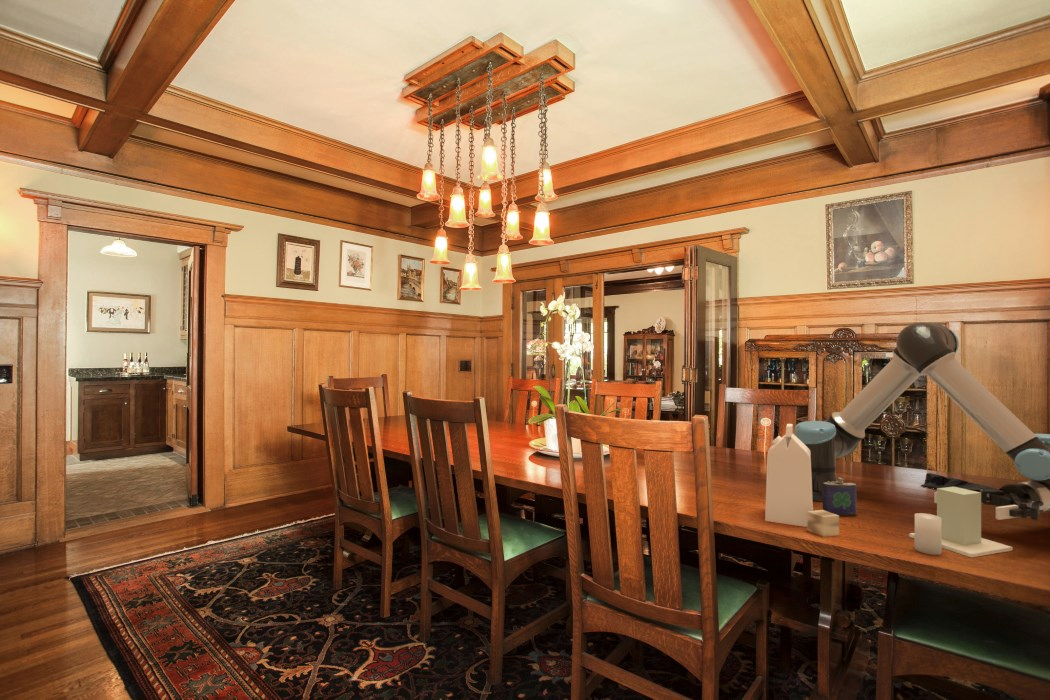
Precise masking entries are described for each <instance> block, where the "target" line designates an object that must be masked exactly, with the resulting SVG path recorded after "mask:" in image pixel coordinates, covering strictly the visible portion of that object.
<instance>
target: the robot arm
mask: <svg viewBox="0 0 1050 700" xmlns="http://www.w3.org/2000/svg"><path fill="white" fill-rule="evenodd" d="M895 342H896V343H895V344H896V347H895V348H894V349H893V350H892V359H891V360H890V361H889V362H888V363H887V364H886V365H885V366H884V367H883V368H882V369H881V370H880V371H879V372H878V373H877V374H876V375H875V376H874V377H873V378H872V379H871V380H870V381H869V382H868V384H866V385H865V387H863V388H862V390H860V391H859V393H858V394H857V395H856V396H855V397H854V398H853V399H851V401H850V402H849V403H848V404H847V405H846V406H845V407H844V408H843V409H842V410H841V411H834V412H832V413H831V414H830V415H829V416H828V418H826V419H825V420H824V421H823V420H809V421H808V420H807V421H801V422H798V423H797V424H796V425H795V427H794V433H793V434H794V435H795V436H796V437H797V438H798V439H799V440H800V441H802V442H803V443H804V444H805V445H806V446H807V447H808V448H809V450H810V453H811V476H812V499H813V501H816V502H823V492H822V491H823V490H822V489H823V487H822V484H823V483H825V482H828V481H829V482H832V481H834V482H835V481H837V480H838V477H837V473H836V459H839V458H844V457H847V456H849V455H851V454H852V453H854V452H855V451H856V450H857V447H858V446H859V445H860V444H859V443H860V442H861V441H862V440H863V439H865V437H866V433H865V432H866V431H865V430H867V428H868V427H869V426H870V425H871V424H872V423H873V422H875V420H877V418H878V417H879V416H880V415H881V414H882V413H883V412H884V411H886V409H888V408H889V406H891V404H892V403H893V402H895V401H896V400H897V399H898V398H899V397H900V396H901V395H902V394H903V393H904V392H906V390H907V389H908V388H909V387H910V386H911V385H912V384H913V383H914V382H915V381H916V380H918V379H919V377H922V376H928V377H929V378H930V379H931V381H932V382H934V383H935V384H936V385H937V386H938V387H939V388H940V389H941V390H942V391H943V392H944V393H945V394H946V395H947V397H949V398H950V399H951V401H953V402H954V403H955V404H956V405H957V407H958V408H960V409H961V410H962V411H963V413H965V414H966V416H968V417H969V418H970V419H971V420H972V421H973V422H974V423H975V424H976V425H977V426H978V428H980V429H981V430H982V431H983V432H984V433H985V434H986V435H987V436H988V437H989V438H990V439H991V440H992V442H994V443H995V444H996V445H997V446H998V447H999V448H1000V449H1001V450H1002V451H1003V452H1004V453H1005V454H1006V455H1007V456H1008V458H1010V459H1011V460H1012V461H1013V463H1014V466H1015V468H1016V470H1017V471H1018V473H1019V474H1021V475H1022V476H1024V477H1025V478H1027V479H1028V481H1022V482H1016V483H1007V484H1004V485H1001V487H999V488H998V489H999V490H995V491H988V490H985V489H983V488H975V489H973V488H962V489H967V490H971V491H976V492H980V493H981V504H983V505H987V506H995V519H996V520H999V521H1000V520H1007V519H1014V518H1015V519H1016V518H1019V517H1020V518H1022V519H1027V518H1030V520H1033V521H1039V517H1040V514H1043V513H1044V512H1047V511H1050V433H1034V432H1033V431H1032V430H1031V429H1030V428H1029V427H1027V425H1026V424H1024V422H1022V421H1021V420H1020V419H1019V417H1017V416H1016V415H1015V414H1014V413H1013V412H1012V411H1011V410H1010V409H1009V408H1007V406H1005V405H1004V404H1003V402H1001V401H1000V400H999V399H998V397H996V396H995V395H994V394H993V393H992V392H990V390H988V389H987V388H986V386H984V385H983V384H982V382H980V381H979V380H978V379H977V378H976V377H975V376H974V375H973V374H972V373H971V372H970V371H969V370H967V369H966V367H965V366H963V365H962V364H961V363H960V362H959V361H958V360H957V359H956V354H957V352H958V349H959V343H960V342H959V338H958V336H957V335H956V333H955V332H954V331H953V330H952V329H951V328H949V327H947V326H945V325H944V324H941V323H936V322H935V323H932V322H930V323H929V322H914V323H911V324H909V325H907V326H905V327H904V328H903V329H902V330H901V331H899V333H898V335H897V337H896V341H895ZM834 482H832V483H834ZM944 488H946V487H944ZM933 494H934V497H933V498H934V503H935V504H937V491H935V492H934V493H933ZM987 497H988V499H989V501H988V499H987Z"/></svg>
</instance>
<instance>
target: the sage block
mask: <svg viewBox="0 0 1050 700" xmlns="http://www.w3.org/2000/svg"><path fill="white" fill-rule="evenodd" d="M936 492H937V503H936V516H939V517H941V530H942V539H944V540H948V541H951V542H954V543H957V544H960V545H963V546H965V545H971V544H977V543H981V538H982V502H981V493H980V492H976V491H971V490H967V489H962V488H958V487H946V488H937V490H936Z"/></svg>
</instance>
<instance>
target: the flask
mask: <svg viewBox="0 0 1050 700" xmlns="http://www.w3.org/2000/svg"><path fill="white" fill-rule="evenodd" d="M843 480H845V479H844V478H842V477H839V476H838V477H837V481H835V482H834V481H832V482H834V483H832V482H829V481H828V482H825V483H823V484H822V487H823V489H822V490H823V491H822V492H823V501H822V510H825V511H828V512H830V513H833V514H836V515H839V517H855V516H857V515H858V514H857V513H858V512H857V484H856V483H853V482H844V481H843Z"/></svg>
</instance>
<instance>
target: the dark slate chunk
mask: <svg viewBox="0 0 1050 700" xmlns="http://www.w3.org/2000/svg"><path fill="white" fill-rule="evenodd" d="M925 474H926V475H925V480H924V483H923V484H920V486H921V487H922V486H923V487H922V488H925V487H929V488H928V489H931V488H934V489H933V490H935V489H937V488H944V487H958V488H973V489H975V488H983V489H985V490H988V491H995V490H999V489H1000V488H997V487H991V486H987V485H984V484H979V483H973V482H969V481H966V480H963V479H959V478H954V477H950V476H949V477H946V476H944V475H940V474H937V473H932V472H928V473H925ZM987 500H988V497H987Z"/></svg>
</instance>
